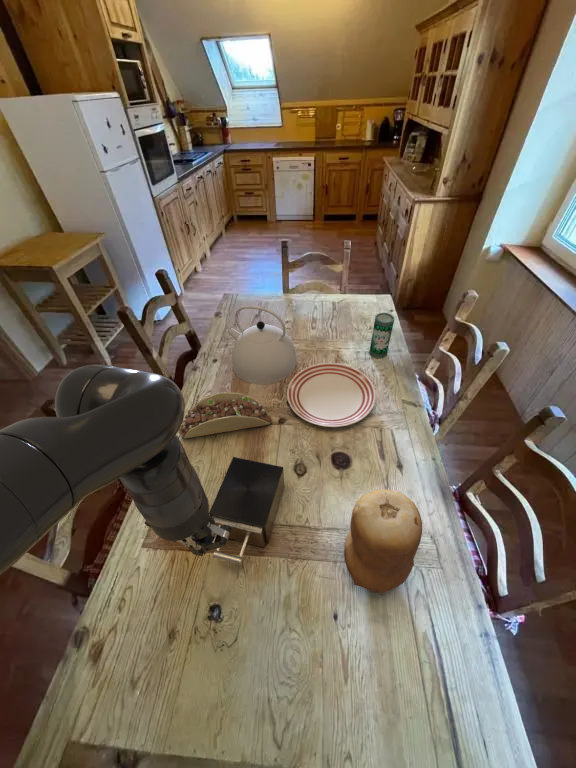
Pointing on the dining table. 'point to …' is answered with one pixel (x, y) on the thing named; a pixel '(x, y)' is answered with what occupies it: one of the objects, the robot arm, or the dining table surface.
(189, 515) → the robot arm
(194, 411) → the taco
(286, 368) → the kettle
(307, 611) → the dining table surface
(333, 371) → the dinner plate
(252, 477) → the black rectangular box
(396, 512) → the butternut squash
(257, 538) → the wooden drawer
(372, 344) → the can
